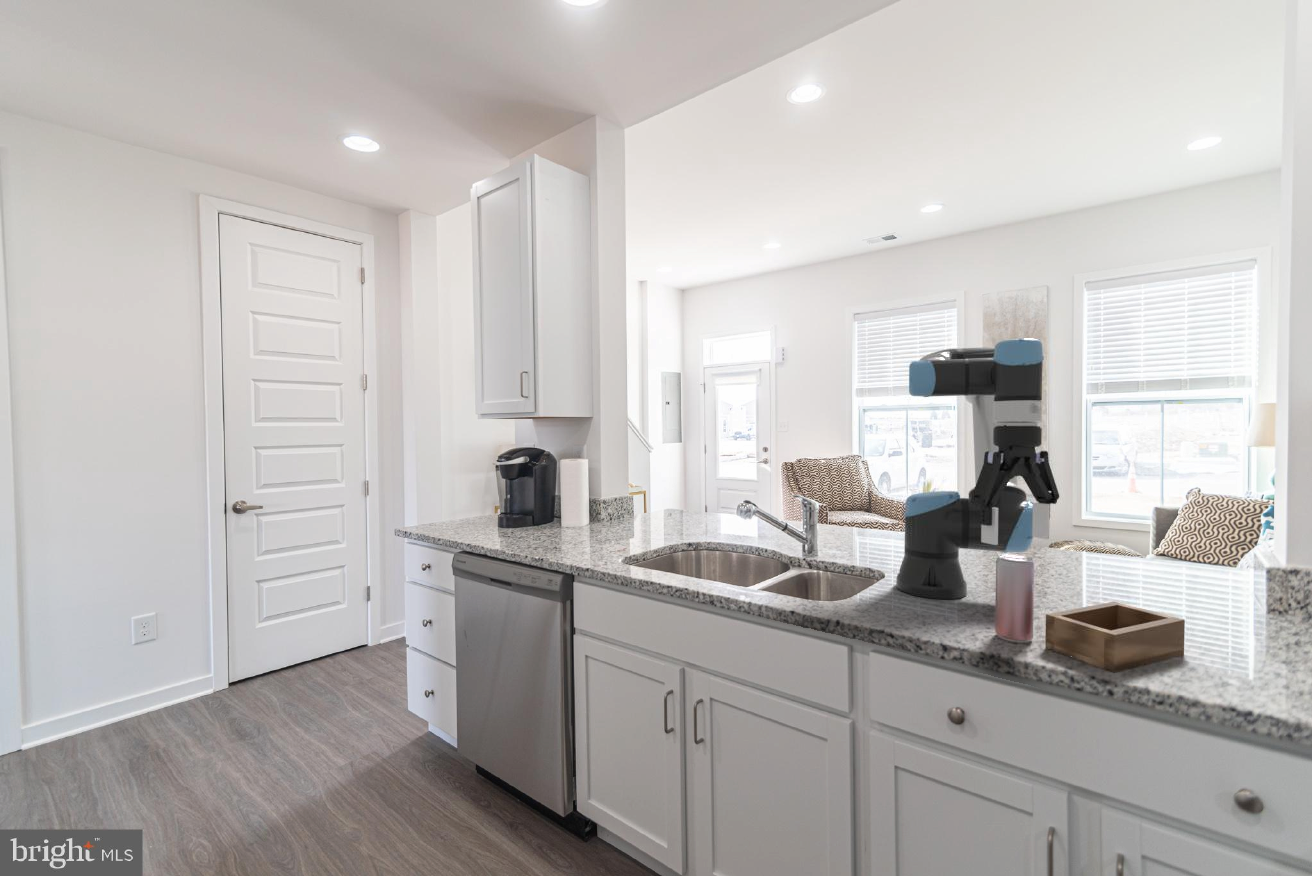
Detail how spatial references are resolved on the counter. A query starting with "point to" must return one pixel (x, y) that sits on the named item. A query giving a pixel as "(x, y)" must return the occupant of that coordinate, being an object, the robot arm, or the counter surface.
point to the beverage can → (1014, 598)
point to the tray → (1115, 635)
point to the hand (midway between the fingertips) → (1015, 540)
